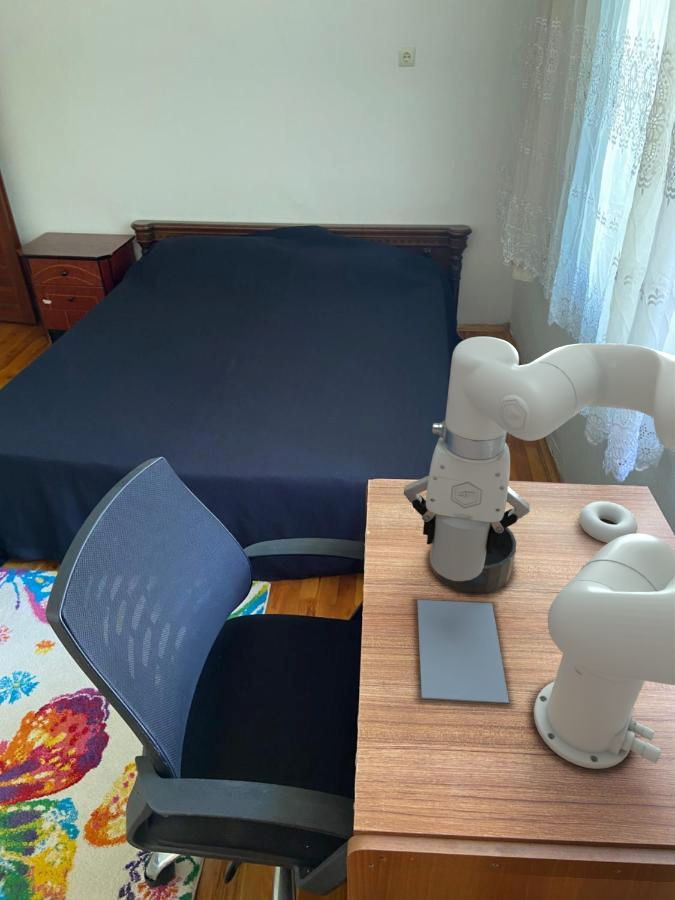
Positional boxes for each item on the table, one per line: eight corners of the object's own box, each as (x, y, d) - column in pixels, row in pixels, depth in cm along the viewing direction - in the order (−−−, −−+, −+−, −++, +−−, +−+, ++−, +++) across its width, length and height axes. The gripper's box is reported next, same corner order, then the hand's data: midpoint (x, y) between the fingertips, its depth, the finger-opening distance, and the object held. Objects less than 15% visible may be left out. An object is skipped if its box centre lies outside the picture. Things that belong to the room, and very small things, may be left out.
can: (476, 547, 95) (487, 483, 88) (488, 584, 89) (500, 518, 82) (426, 548, 95) (432, 484, 88) (434, 586, 89) (441, 519, 82)
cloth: (417, 600, 104) (417, 599, 104) (491, 604, 104) (492, 603, 103) (421, 698, 90) (421, 697, 89) (508, 703, 89) (509, 702, 89)
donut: (641, 549, 114) (626, 512, 122) (646, 535, 112) (631, 498, 120) (583, 546, 115) (572, 509, 123) (588, 531, 113) (576, 495, 121)
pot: (522, 556, 113) (528, 531, 109) (491, 607, 103) (496, 580, 100) (451, 527, 119) (454, 502, 116) (415, 572, 110) (418, 546, 106)
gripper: (399, 443, 78) (393, 550, 88) (548, 463, 74) (523, 572, 84) (409, 412, 84) (401, 516, 94) (546, 429, 80) (524, 535, 90)
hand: (459, 542), depth 89 cm, fingers closed on can, 7 cm apart
